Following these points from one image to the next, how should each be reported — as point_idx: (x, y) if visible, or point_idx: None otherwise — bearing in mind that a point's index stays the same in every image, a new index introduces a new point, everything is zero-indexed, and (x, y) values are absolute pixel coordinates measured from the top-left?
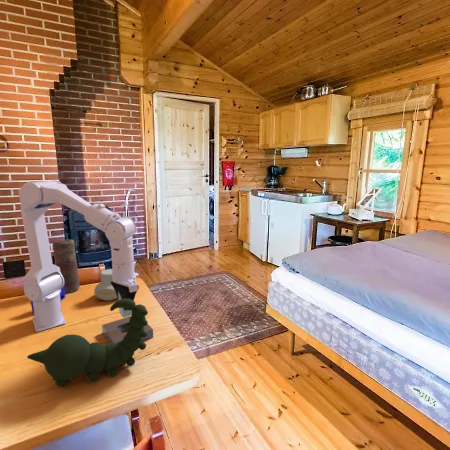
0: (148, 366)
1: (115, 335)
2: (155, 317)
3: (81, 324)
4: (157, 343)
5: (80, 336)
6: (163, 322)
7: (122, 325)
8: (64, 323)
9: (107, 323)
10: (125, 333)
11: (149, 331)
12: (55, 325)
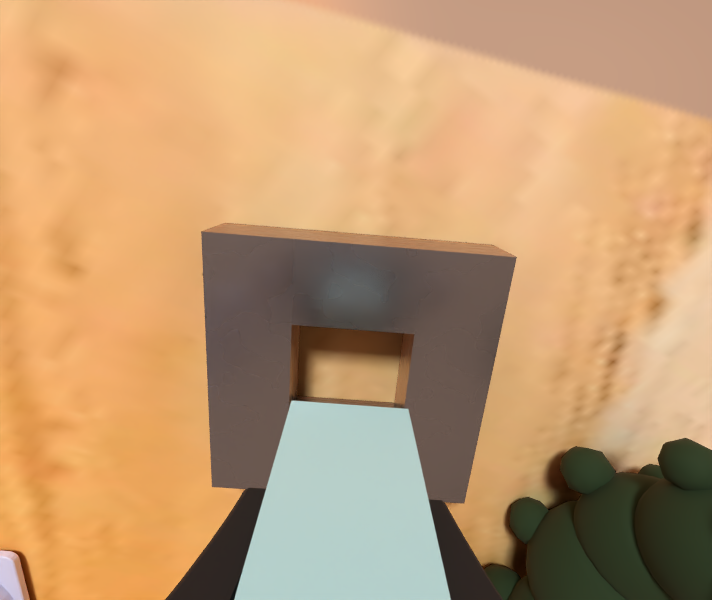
0: (696, 396)
1: None
2: (253, 78)
3: (66, 496)
4: (573, 259)
5: None
6: (373, 68)
7: (291, 387)
8: (17, 560)
9: (213, 456)
10: (418, 423)
11: (507, 284)
12: (22, 596)
